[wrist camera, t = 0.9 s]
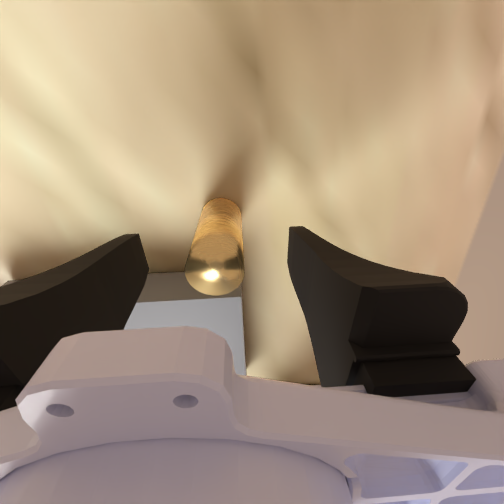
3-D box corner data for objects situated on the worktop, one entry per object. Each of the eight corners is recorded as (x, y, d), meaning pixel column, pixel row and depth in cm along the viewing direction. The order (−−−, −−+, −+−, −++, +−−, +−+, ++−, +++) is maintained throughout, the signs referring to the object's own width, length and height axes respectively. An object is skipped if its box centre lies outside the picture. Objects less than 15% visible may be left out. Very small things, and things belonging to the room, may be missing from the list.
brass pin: (242, 234, 16) (245, 293, 11) (203, 235, 16) (189, 296, 11) (240, 197, 15) (243, 245, 10) (198, 198, 15) (180, 248, 10)
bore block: (246, 371, 24) (247, 403, 21) (75, 383, 23) (55, 417, 21) (240, 268, 18) (241, 296, 15) (8, 280, 17) (-32, 312, 15)
